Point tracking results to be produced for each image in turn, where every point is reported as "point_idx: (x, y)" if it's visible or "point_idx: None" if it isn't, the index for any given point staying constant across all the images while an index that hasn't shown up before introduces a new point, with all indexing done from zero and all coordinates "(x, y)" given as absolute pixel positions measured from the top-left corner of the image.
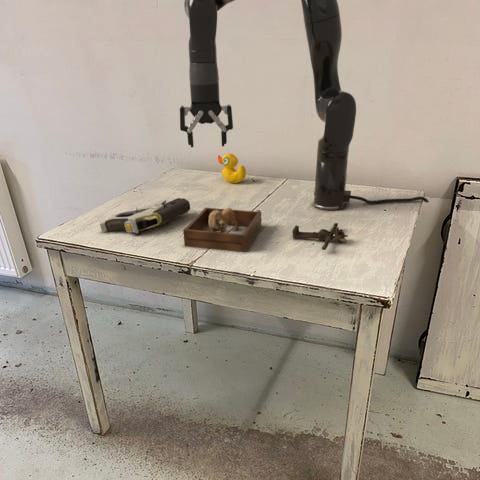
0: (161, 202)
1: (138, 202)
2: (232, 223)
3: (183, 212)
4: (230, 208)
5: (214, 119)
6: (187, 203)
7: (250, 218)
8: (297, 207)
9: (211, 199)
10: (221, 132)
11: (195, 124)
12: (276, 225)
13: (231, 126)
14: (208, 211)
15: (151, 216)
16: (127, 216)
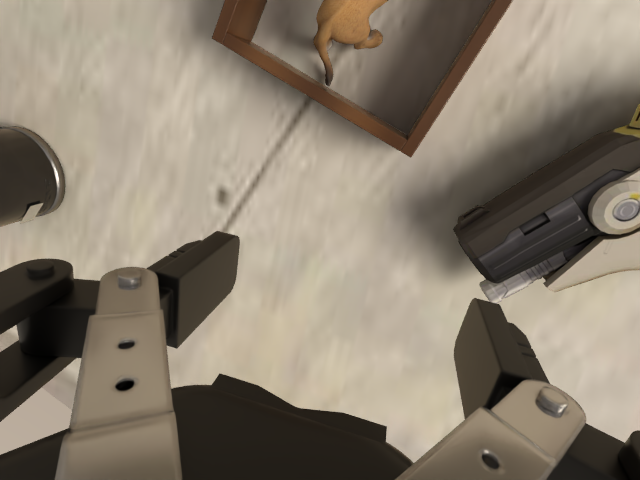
0: (575, 268)
1: (589, 415)
2: (330, 64)
3: (488, 202)
4: (328, 19)
5: (149, 374)
6: (467, 230)
7: (261, 50)
8: (110, 188)
9: (342, 345)
10: (177, 291)
11: (483, 422)
12: (189, 47)
13: (25, 270)
14: (403, 136)
15: None
16: None
